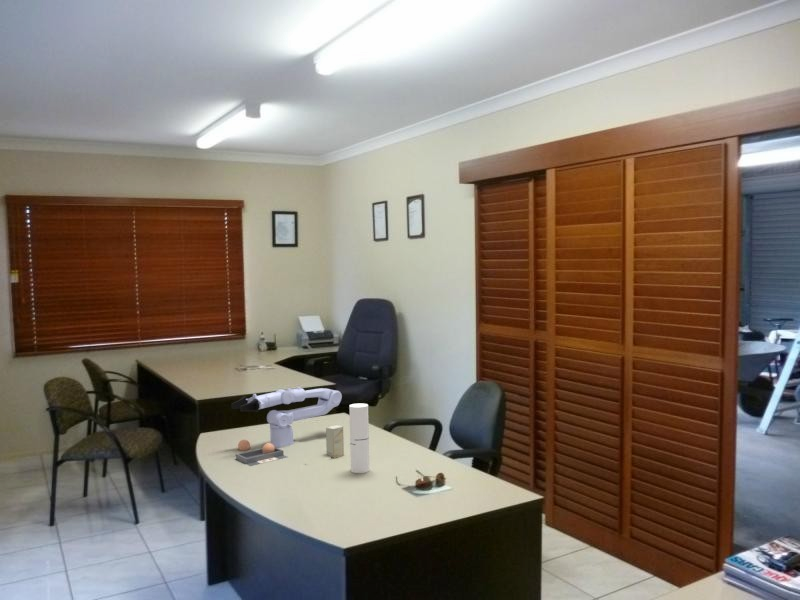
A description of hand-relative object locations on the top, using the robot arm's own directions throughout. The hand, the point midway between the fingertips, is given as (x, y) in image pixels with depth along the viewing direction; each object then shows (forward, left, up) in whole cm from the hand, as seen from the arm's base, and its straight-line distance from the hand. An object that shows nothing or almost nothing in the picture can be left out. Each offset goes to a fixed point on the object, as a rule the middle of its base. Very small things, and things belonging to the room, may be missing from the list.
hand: (236, 407), depth 263 cm
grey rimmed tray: (-5, +12, -21) cm, 24 cm away
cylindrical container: (-26, +50, -21) cm, 60 cm away
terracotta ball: (-6, -5, -21) cm, 22 cm away
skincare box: (-30, +28, -21) cm, 46 cm away
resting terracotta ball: (-9, +10, -20) cm, 24 cm away
